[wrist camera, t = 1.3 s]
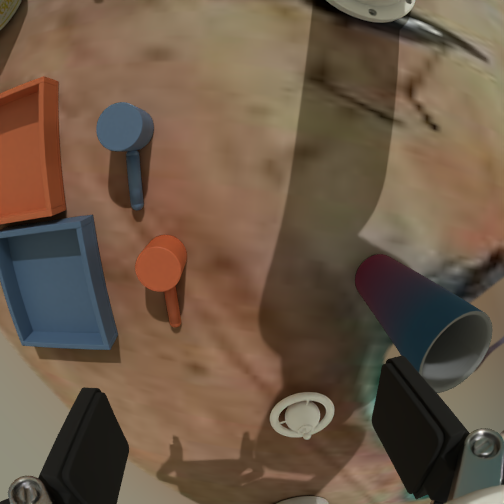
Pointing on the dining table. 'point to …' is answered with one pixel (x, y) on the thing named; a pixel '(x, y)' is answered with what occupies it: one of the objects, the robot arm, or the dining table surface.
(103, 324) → the slate bin
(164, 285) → the orange toy mallet
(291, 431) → the ring around a ball
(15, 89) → the terracotta bin
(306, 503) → the cylinder vase
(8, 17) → the air freshener
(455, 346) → the cup
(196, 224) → the dining table surface
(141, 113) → the blue handled cylinder
